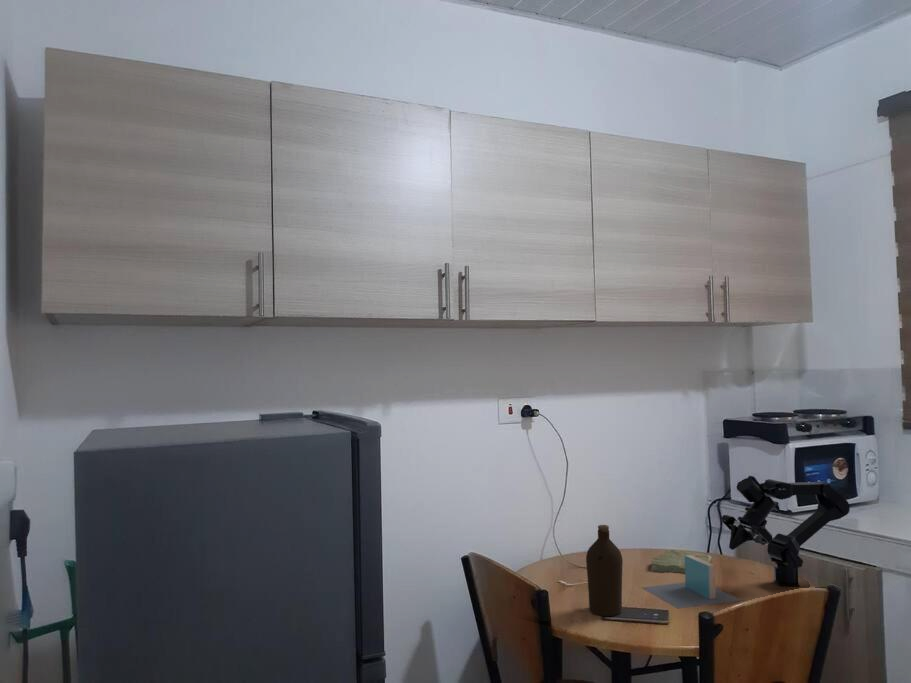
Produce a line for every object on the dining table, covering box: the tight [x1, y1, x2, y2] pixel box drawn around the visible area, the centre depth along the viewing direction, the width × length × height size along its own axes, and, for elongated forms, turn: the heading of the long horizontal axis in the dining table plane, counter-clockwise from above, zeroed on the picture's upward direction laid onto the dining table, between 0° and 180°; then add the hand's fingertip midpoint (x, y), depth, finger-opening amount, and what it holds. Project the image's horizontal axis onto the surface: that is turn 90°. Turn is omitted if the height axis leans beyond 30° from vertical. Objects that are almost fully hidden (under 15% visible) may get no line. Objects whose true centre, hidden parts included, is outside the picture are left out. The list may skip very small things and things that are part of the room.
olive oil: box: [585, 524, 624, 617], centre depth 202 cm, size 11×11×25 cm
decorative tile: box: [650, 549, 713, 574], centre depth 245 cm, size 19×20×4 cm
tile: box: [684, 555, 716, 599], centre depth 215 cm, size 2×12×10 cm, turn 16°
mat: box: [641, 582, 740, 609], centre depth 214 cm, size 22×20×1 cm
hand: (730, 548), depth 219 cm, fingers closed
